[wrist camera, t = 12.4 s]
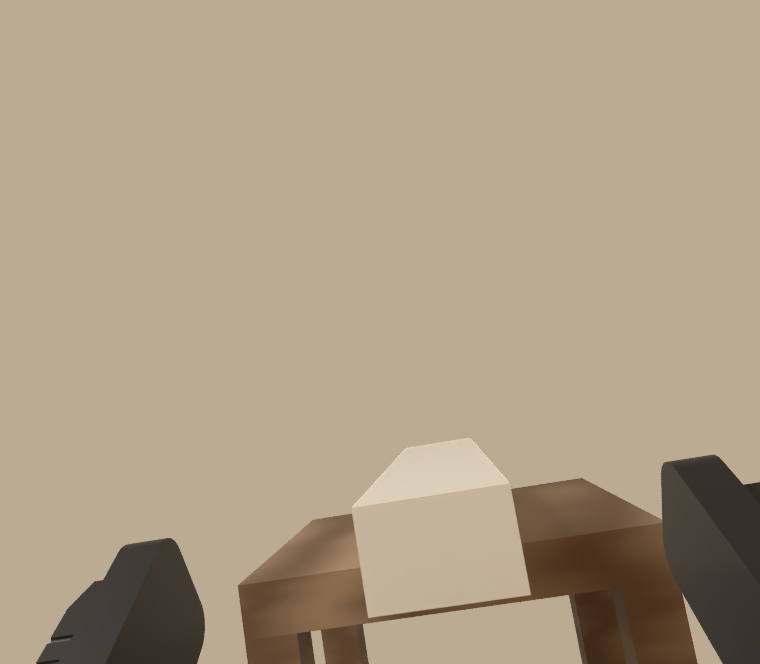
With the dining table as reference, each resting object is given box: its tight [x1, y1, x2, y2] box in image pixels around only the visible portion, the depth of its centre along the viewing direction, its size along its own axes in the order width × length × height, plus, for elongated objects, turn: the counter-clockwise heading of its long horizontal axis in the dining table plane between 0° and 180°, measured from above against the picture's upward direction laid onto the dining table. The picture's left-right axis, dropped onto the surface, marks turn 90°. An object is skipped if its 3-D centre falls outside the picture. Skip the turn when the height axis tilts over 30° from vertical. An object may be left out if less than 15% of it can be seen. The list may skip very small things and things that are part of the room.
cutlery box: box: [351, 438, 531, 618], centre depth 30 cm, size 4×26×3 cm, turn 174°
